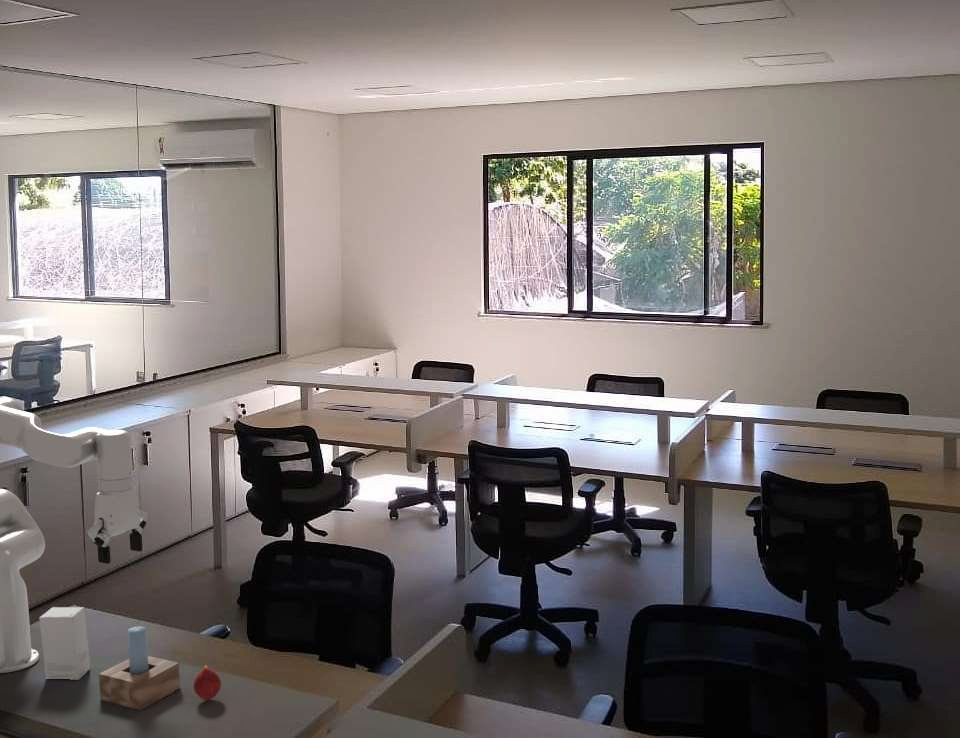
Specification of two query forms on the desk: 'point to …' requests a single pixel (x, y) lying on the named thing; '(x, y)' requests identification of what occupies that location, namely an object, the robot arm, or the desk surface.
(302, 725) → the desk surface
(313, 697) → the desk surface
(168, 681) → the bore block
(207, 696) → the onion
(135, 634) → the pin
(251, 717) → the desk surface
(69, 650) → the skincare box
